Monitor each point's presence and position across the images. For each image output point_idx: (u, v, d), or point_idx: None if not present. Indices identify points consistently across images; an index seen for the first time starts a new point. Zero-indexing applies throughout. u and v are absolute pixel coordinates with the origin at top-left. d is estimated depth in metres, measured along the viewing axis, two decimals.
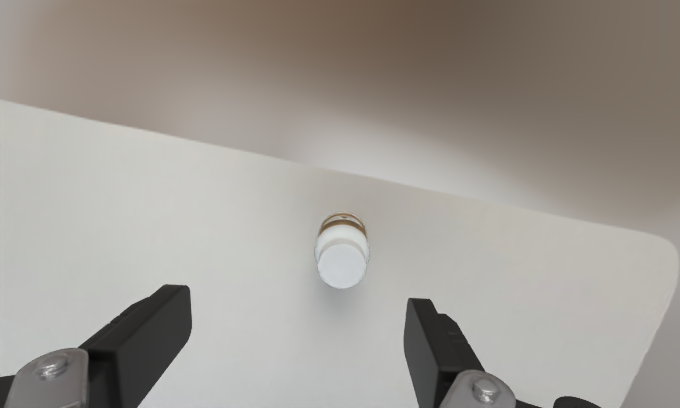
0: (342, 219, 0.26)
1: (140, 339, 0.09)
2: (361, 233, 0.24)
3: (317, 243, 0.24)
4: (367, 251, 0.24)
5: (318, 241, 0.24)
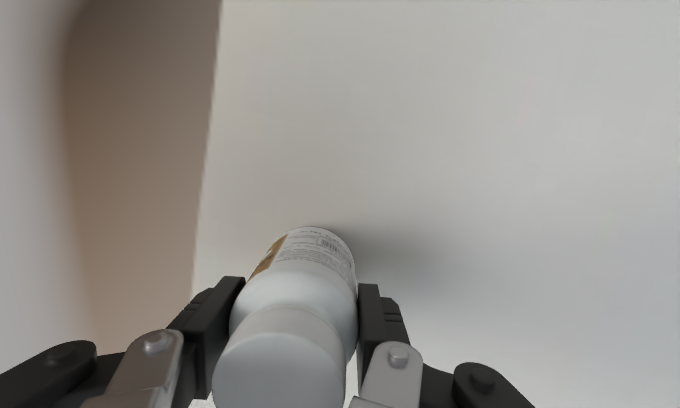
0: None
1: (216, 323, 0.09)
2: (246, 286, 0.10)
3: None
4: (281, 281, 0.10)
5: None
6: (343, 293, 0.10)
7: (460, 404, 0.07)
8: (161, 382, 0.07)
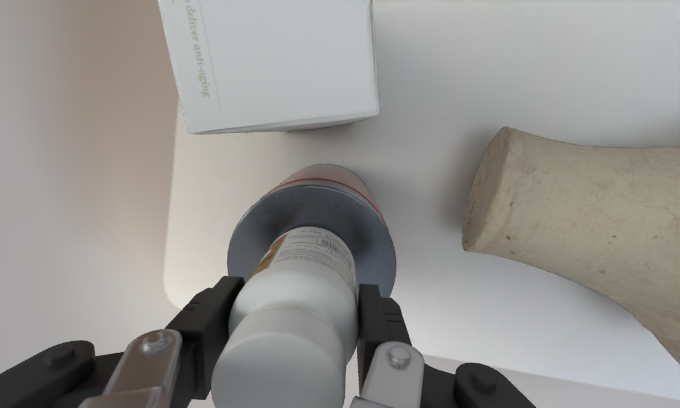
0: None
1: (215, 324, 0.09)
2: (245, 285, 0.10)
3: None
4: (281, 280, 0.10)
5: None
6: (343, 292, 0.10)
7: (461, 404, 0.07)
8: (160, 382, 0.07)
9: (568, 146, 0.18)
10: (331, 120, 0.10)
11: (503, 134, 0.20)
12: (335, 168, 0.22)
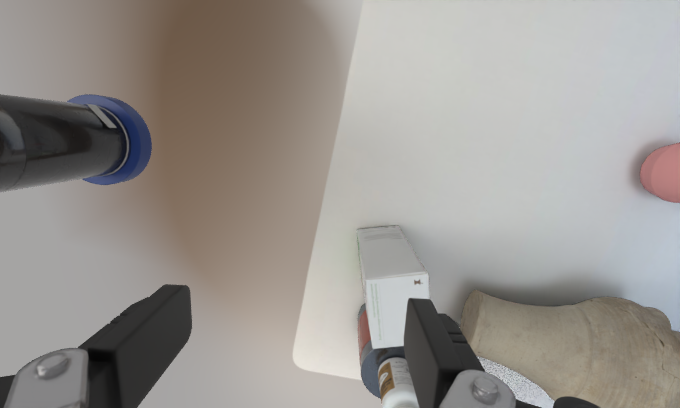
0: (380, 390, 0.35)
1: (140, 339, 0.09)
2: (388, 394, 0.32)
3: None
4: (402, 394, 0.32)
5: None
6: None
7: None
8: (73, 400, 0.06)
9: (506, 310, 0.40)
10: None
11: (477, 298, 0.42)
12: None
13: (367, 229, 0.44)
